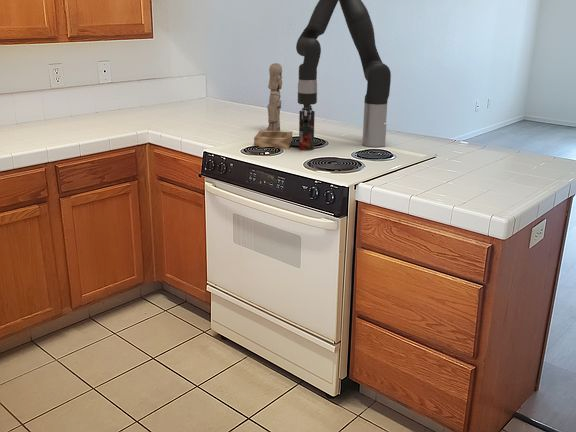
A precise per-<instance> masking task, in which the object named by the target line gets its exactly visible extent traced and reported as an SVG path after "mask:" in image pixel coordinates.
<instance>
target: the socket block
mask: <svg viewBox="0 0 576 432" xmlns="http://www.w3.org/2000/svg"><path fill="white" fill-rule="evenodd" d="M291 141H292V142H293V131H281V130H280V131H267V130H259V131H258V132H257V134H255V136H254V138H253V142H254V143H253V147H254V146H259V147H276V148H275V149H278V148H282V150H285V149H286V150H289V149H290V147H291V145H290V143H291ZM291 144H292V143H291ZM289 146H290V147H289Z"/></svg>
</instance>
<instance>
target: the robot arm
mask: <svg viewBox="0 0 576 432" xmlns="http://www.w3.org/2000/svg"><path fill="white" fill-rule="evenodd" d="M338 2H339V5H340V8H341V11H342V13H343V17H344V20H345V23H346V25H347V29H348V31H349V34H350V36H351V39H352V42H353V43H354V46H355V48H356V51H357V53H358V56H359V59H360V62H361V67H362V70H363V75H364V78H365V80H366V82H367V84H366V93H365V96H364V105H363V123H362V124H363V127H362V141H361V142H362V145H363V146H366V147H370V148H371V147H372V148H379V147H386V141H387V140H386V138H387V137H386V136H387V115H388V113H387V112H388V102H389V101H388V99H389V97H390V89H391V81H392V77H391V76H392V74H391V69H390V67H389V66H388V65H387V64H386V63H384V62H383V61H382V59H381V57H380V54H379V52H378V49H377V43H376V38H375V31H374V25H373V22H372V19H371V16H370V12H369V11H368V9H367V7H366V5H365V4H364V2H363V1H362V0H318V2H317V3H316V6H315V7H314V9H313V11H312V13H311V15H310V18H309V21H308V23H307V25H306V27H305V28H304V29H303V31H302V32H301V34H300V36H299V37H298V39H297V41H296V45H295V49H296V53H297V54H298V55H300V57H301V56H302V57H303V61H302V62H303V63H301V64H299V66H298V83H297V103H298V104H299V105H303V107H302V108H301V111H302V113H303V114H302V120H303V123H302V124H303V135H304V136H308V135H309V125H310V124H309V121H310V120H311V114H310V115H309V112H310V113H312V111H313V107H312V105H315V104H317V102H318V81H317V77H318V66H319V63H320V58H321V53H322V48H321V47H322V46H321V43H320V42H319V40H318V38H319V37H320V36H321V35H324V33H325V32H326V30H327V28H328V26H329V24H330V20H331V18H332V16H333V13H334V11H335V8H336V6H337V4H338ZM305 120H308V122H304V121H305Z"/></svg>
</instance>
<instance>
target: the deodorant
mask: <svg viewBox="0 0 576 432" xmlns="http://www.w3.org/2000/svg"><path fill="white" fill-rule="evenodd" d="M302 114H303V113H302V110H299V114H298V115H299V117H298V118H299V123H298V125H299V127H298V128H299V130H298V149H299V150H300V151H305V152H306V151H314V149H315V110H312V113H310V112H309V115H310V114H311V120H310V121H309V124H310V125H309V135H308V136H304V135H303V124H302V123H303V120H302ZM304 122H308V120H305V121H304Z"/></svg>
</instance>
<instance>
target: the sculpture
mask: <svg viewBox="0 0 576 432" xmlns="http://www.w3.org/2000/svg"><path fill="white" fill-rule="evenodd" d="M268 72H269V82H268V86H267V88H268V89H269V90H270V93H269V94H270V95H269V100H268V105H267V106H266V107H267V108H266V109H267V114H268V117H267V118H268V122H267V123H268V125H267V129H266V131H281V120H280V119H281V117H280V114H281V111H280V110H281V109H282V100H280V99H281V92H280V90H281V89H282V86H283V80H282V79H283V68H282V65H281V64H280V63H272V64H271V65H269V70H268Z"/></svg>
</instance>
